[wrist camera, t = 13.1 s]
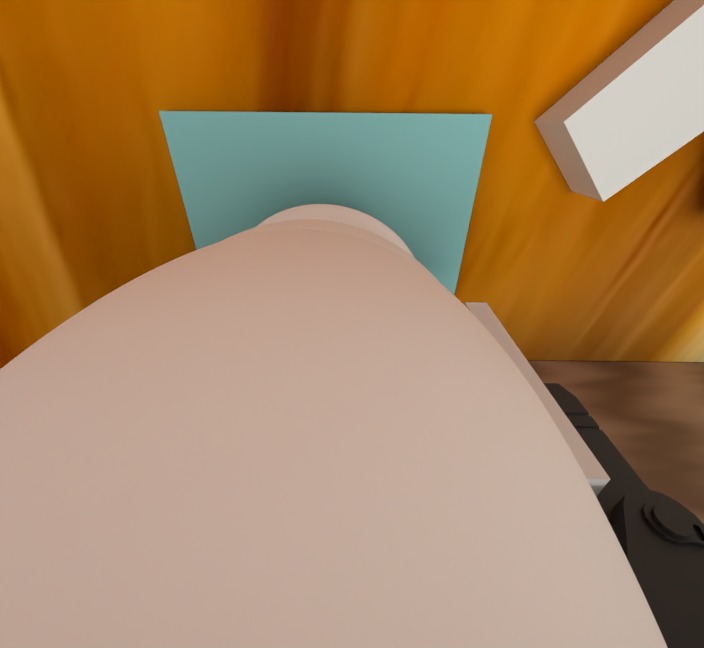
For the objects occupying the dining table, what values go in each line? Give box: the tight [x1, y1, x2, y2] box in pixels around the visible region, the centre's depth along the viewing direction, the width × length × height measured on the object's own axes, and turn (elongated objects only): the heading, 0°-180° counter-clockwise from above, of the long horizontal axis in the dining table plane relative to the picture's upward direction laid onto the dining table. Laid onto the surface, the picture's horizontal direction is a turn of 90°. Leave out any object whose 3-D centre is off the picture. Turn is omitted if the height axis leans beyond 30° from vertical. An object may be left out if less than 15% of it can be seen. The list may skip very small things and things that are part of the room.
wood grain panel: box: [528, 361, 704, 524], centre depth 15 cm, size 19×7×20 cm, turn 90°
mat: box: [159, 111, 492, 295], centre depth 17 cm, size 14×14×1 cm
